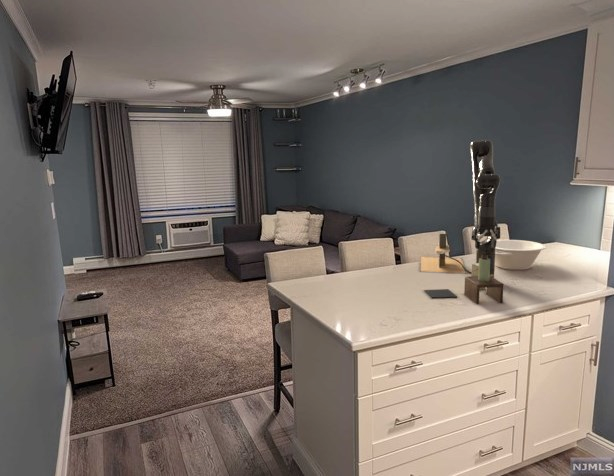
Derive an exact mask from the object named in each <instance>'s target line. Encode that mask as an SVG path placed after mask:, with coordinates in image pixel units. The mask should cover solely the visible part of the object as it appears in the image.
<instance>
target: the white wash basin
mask: <svg viewBox="0 0 614 476" xmlns="http://www.w3.org/2000/svg"><path fill="white" fill-rule="evenodd" d="M545 249H547V246H546V245H545V244H543V243H541V242H537V241H531V240H523V239H522V240H521V239H497V243H496V248H495V267H498V268H500V269H503V270H508V271H509V270H510V271H525V270H529V269H531V268H532V266H533V265H534V263H535V261H536V259H537V258H538V257H539V255H540V253H541V251H543V250H545Z"/></svg>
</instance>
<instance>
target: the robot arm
mask: <svg viewBox="0 0 614 476" xmlns="http://www.w3.org/2000/svg"><path fill="white" fill-rule="evenodd" d="M493 144H494V143H493V141H492V140H491V139H481V140H473V141H471V142H470V145H469V146H470V147H469V151H470V161H471V169H472V193H473V206H474V208H473V209H474V211H473V213H474V215H473V216H474V217H473V227H472V229H471V241H474V247H475V249H476V254H475V263H479V258H482V254H487V255H488V258H489V259H490V276H491V277H493V278H494V279H495V269H496V268H495V267H496V265H495V248H496V243H497V240H501V227H500V226H499V224H498V221H497V219H496V197H497V193H498V189H499V187H500V184H501V176H500V175H499V174H498V173H495V167H494V145H493ZM479 159H481V160H480V161H479ZM484 237H486V238H484ZM483 238H484V240H482V239H483ZM481 240H482V241H481ZM445 258H452V259H454V258H455V257H452V256H449V255H446V254H445ZM454 260H456V259H454ZM456 261H458V260H456ZM458 262H459V263H460V264H461V265H462V266H463V265H464V263H463V264H462V263H461V262H460V261H458ZM463 268H464V269H465V271H466V273H469V274H471V272H472V271H469V270H468V269H466V267H465V265H464V266H463Z"/></svg>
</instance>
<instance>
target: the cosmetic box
mask: <svg viewBox="0 0 614 476" xmlns="http://www.w3.org/2000/svg"><path fill="white" fill-rule="evenodd" d="M478 271H479V263H476V262H475V263H471V271H470V272H471V273H470V276H478ZM481 290H486V288H480V291H481Z"/></svg>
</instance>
